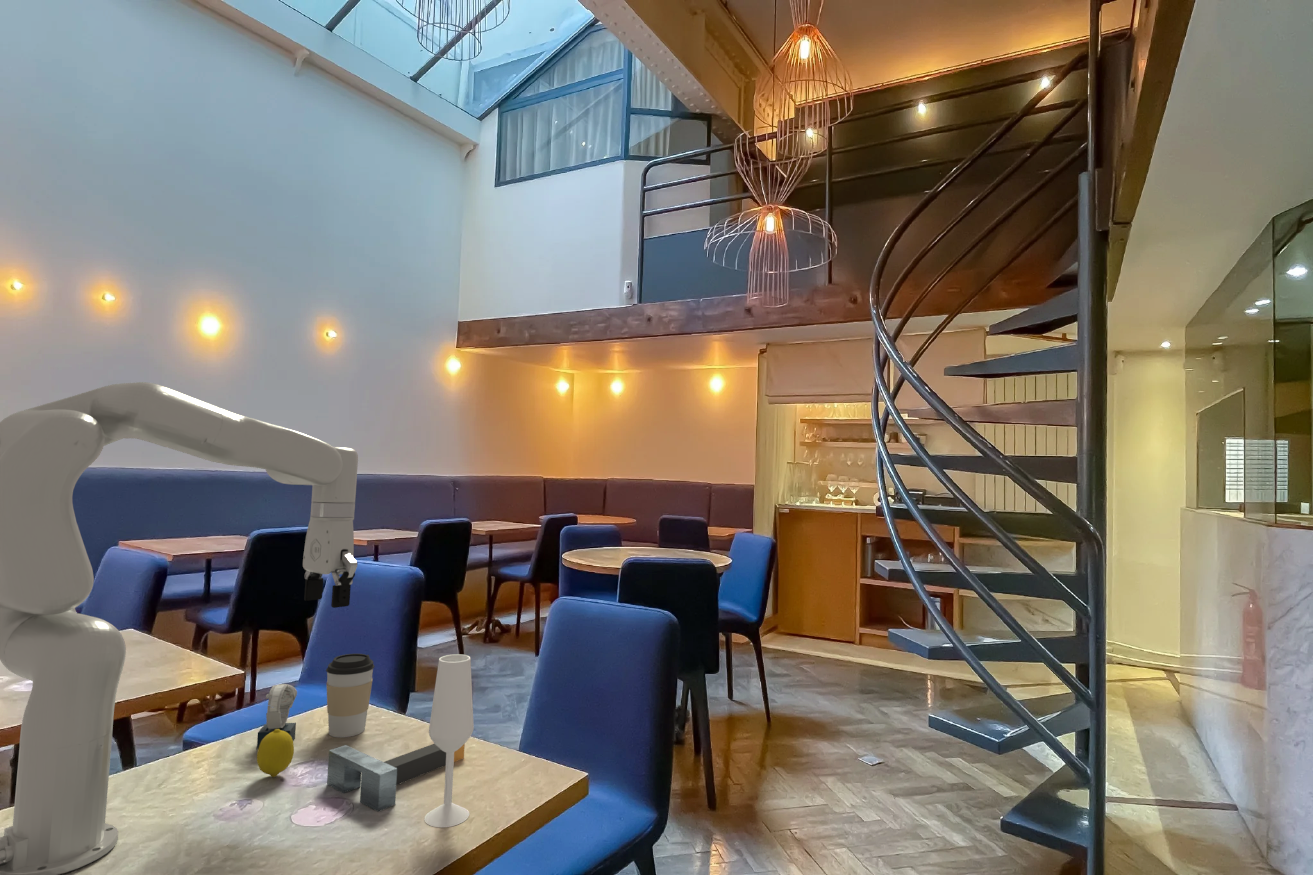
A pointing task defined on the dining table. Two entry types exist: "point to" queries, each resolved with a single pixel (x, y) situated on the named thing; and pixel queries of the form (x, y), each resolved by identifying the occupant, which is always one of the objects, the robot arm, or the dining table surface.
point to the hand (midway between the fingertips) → (326, 603)
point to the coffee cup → (348, 694)
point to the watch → (278, 711)
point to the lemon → (275, 752)
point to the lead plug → (421, 762)
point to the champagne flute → (451, 728)
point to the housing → (362, 777)
